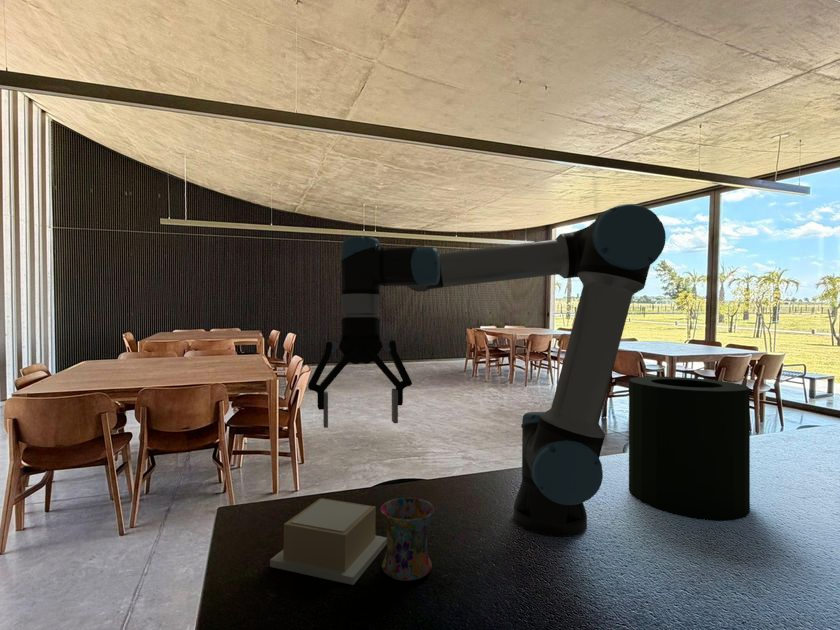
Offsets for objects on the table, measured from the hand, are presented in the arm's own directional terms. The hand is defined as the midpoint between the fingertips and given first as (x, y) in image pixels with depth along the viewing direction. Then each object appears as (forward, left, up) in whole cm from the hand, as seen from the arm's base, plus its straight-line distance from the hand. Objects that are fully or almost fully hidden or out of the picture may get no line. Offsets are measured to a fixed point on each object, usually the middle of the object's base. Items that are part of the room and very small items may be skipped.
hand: (360, 424), depth 87 cm
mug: (-12, +7, -23) cm, 26 cm away
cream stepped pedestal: (+2, +8, -22) cm, 24 cm away
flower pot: (-66, -44, -23) cm, 83 cm away
